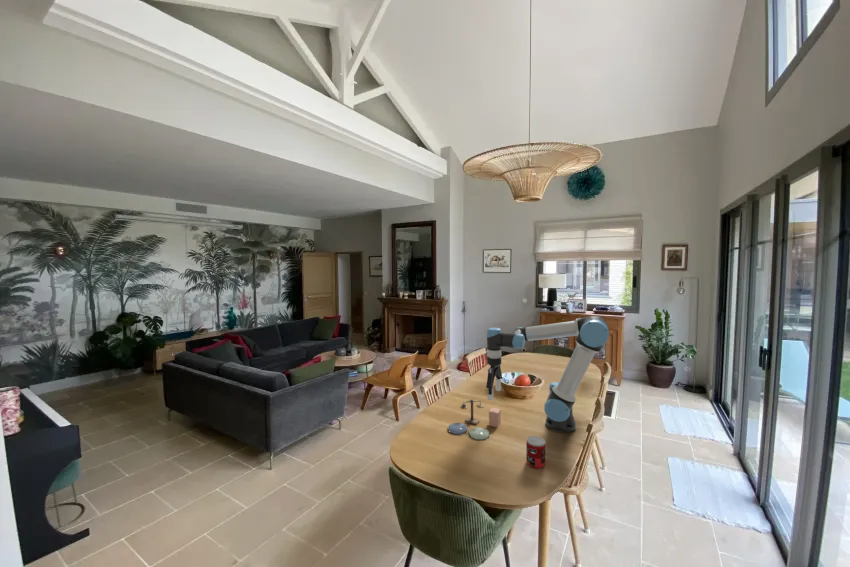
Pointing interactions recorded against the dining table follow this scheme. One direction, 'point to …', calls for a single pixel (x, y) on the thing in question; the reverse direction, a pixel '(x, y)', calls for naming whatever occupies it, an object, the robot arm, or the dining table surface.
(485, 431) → the saucer sage near
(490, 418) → the block
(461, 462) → the dining table surface
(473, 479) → the dining table surface
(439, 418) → the dining table surface
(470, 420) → the balance
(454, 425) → the saucer slate far
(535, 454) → the canned food
